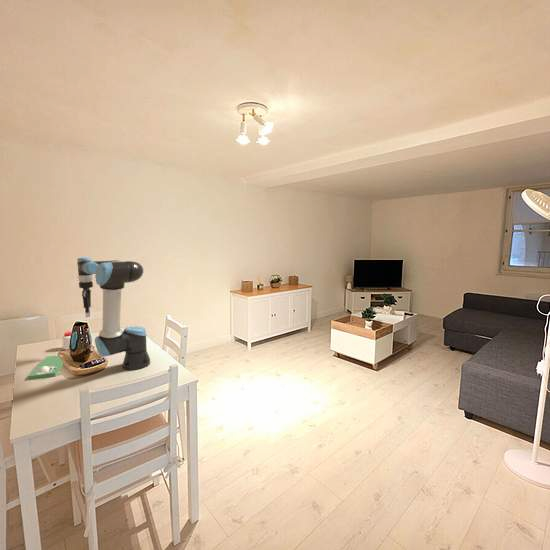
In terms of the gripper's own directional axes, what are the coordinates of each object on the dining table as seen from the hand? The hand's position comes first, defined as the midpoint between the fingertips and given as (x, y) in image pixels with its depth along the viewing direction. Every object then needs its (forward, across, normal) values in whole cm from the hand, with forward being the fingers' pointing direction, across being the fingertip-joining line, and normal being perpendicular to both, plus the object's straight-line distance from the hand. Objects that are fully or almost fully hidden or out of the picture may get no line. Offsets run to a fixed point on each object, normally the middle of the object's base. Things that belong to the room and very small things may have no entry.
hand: (88, 317), depth 196 cm
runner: (+24, +18, -17) cm, 35 cm away
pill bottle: (+25, -14, -15) cm, 32 cm away
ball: (+22, +27, -17) cm, 39 cm away
